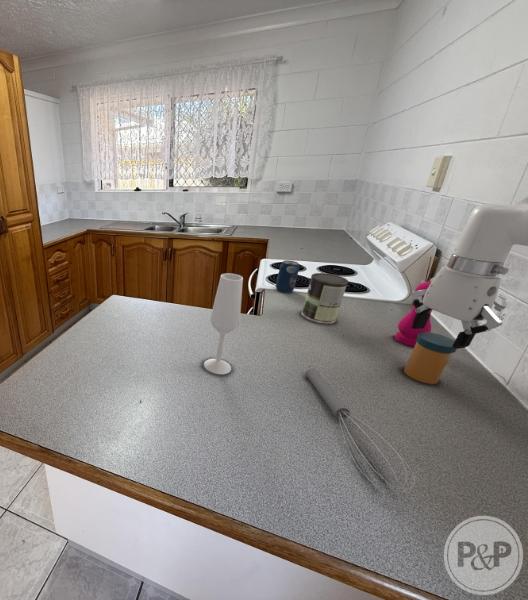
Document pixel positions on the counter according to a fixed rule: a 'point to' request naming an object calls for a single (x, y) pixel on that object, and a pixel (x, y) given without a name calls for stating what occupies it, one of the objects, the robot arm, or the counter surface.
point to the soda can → (287, 276)
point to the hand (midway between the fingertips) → (437, 337)
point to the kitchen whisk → (343, 413)
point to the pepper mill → (405, 325)
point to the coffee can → (324, 297)
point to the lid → (436, 342)
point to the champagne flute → (225, 316)
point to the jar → (426, 364)
